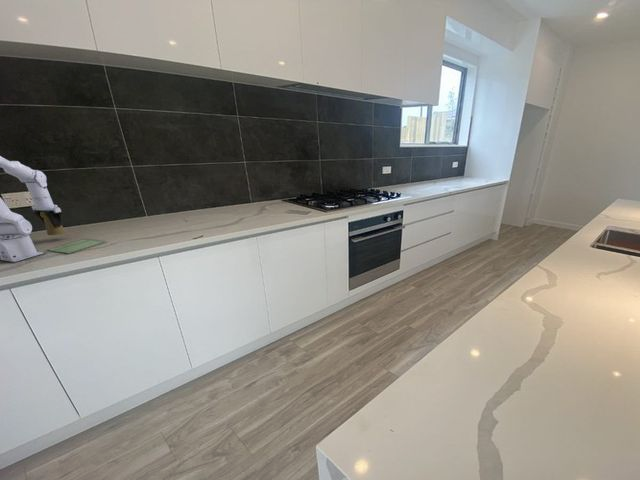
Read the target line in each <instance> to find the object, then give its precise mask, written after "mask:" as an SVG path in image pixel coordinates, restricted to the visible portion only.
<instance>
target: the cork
mask: <svg viewBox="0 0 640 480" xmlns="http://www.w3.org/2000/svg"><path fill="white" fill-rule="evenodd" d="M48 212H49V211H46V210H44V211H41V212H40V216H41V217H42V218H44V222H45V224H44V225H45V231H46V233H47V236H56V235H61V234H64V233H66V230H65V228H64V227H63V225H62V224H61V226H59V227H54V226H53V224H52V222H51V221H50V219H49V218H48V217H47V216H46V215H45V214H44V213H48Z"/></svg>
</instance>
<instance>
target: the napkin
mask: <svg viewBox="0 0 640 480" xmlns="http://www.w3.org/2000/svg"><path fill="white" fill-rule="evenodd" d="M100 244H104V241H99V240H93V239H92V240H91V239H87V238H84V239H83V238H82V239H80V240H76V241H74V242H70V243H67V244H62V245H60V246H56V247H53V248H49V249H47V251H49V252H55V253H62V254H68V255H69V254H72V253H76V252H78V251H82V250H84V249H87V248H90V247H94V246H97V245H100Z"/></svg>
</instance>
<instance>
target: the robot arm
mask: <svg viewBox="0 0 640 480" xmlns="http://www.w3.org/2000/svg"><path fill="white" fill-rule="evenodd" d="M0 168H1V169H3V171H4V173H6V174H8V175H10V176H13V177H14V178H16V179H18V180H19V181H20V182H21V183H22V184H25V187H26V188H27V190H28V192H29V195H30V197H31V199H32V202H33V204H34V205H31V206H30V207H31V209H32V213H33V215H35V216H36V217H37V218H39V219H40V221H41V222H42V223H43V224H44V225H45V222H44V218H42V217H41V216H40V212H41V211H44V210H46V211H49V212H48V213H44V214H45V215H46V216H47V217H48V218H49V219H50V221H51V222H52V224H53V226H54V227H59V226H61V225H62V215H63V210H62V209H61V208H60V207H58V205H57V204H54V201H53V199H52V197H51V195H50V192H49V190H48V187H47V186H48V183H47V175H46V174H45V173H44V172H43V171H40V170H38V169H32V168H31V167H30V166H26V165H24V164H22V163H21V162H20V161H19V160H9V159H7V158H5V157H3V156H1V155H0ZM32 231H33V226H32V224H31V222H30V221H29V220H27V219H25V217H24V216H23V215H21V214H19V213H16V212H13V211H12V210H10V208H9V207H8V205H7V204H6V203H5V202H4V199H2V197H0V261H6V262H11V263H17V262H19V261H23V260H26V259H30V258H34V257H37V256H41V255H43V254H44V252H42V251H37V249H36V246H35V244H34V242H33V240H32V237H31V236H30V235H31V233H32Z"/></svg>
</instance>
